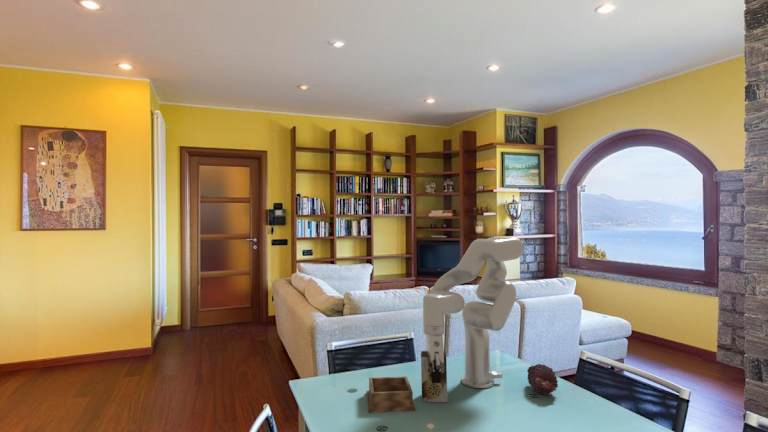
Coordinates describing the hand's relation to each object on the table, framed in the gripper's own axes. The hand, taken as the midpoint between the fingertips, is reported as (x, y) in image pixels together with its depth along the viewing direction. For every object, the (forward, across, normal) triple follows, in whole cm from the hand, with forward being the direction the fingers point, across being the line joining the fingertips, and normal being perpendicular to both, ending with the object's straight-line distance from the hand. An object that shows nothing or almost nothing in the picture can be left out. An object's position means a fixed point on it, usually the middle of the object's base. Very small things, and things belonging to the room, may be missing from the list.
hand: (433, 378), depth 151 cm
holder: (+7, -1, +16) cm, 18 cm away
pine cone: (+8, +2, -41) cm, 42 cm away
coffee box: (+7, 0, 0) cm, 7 cm away
